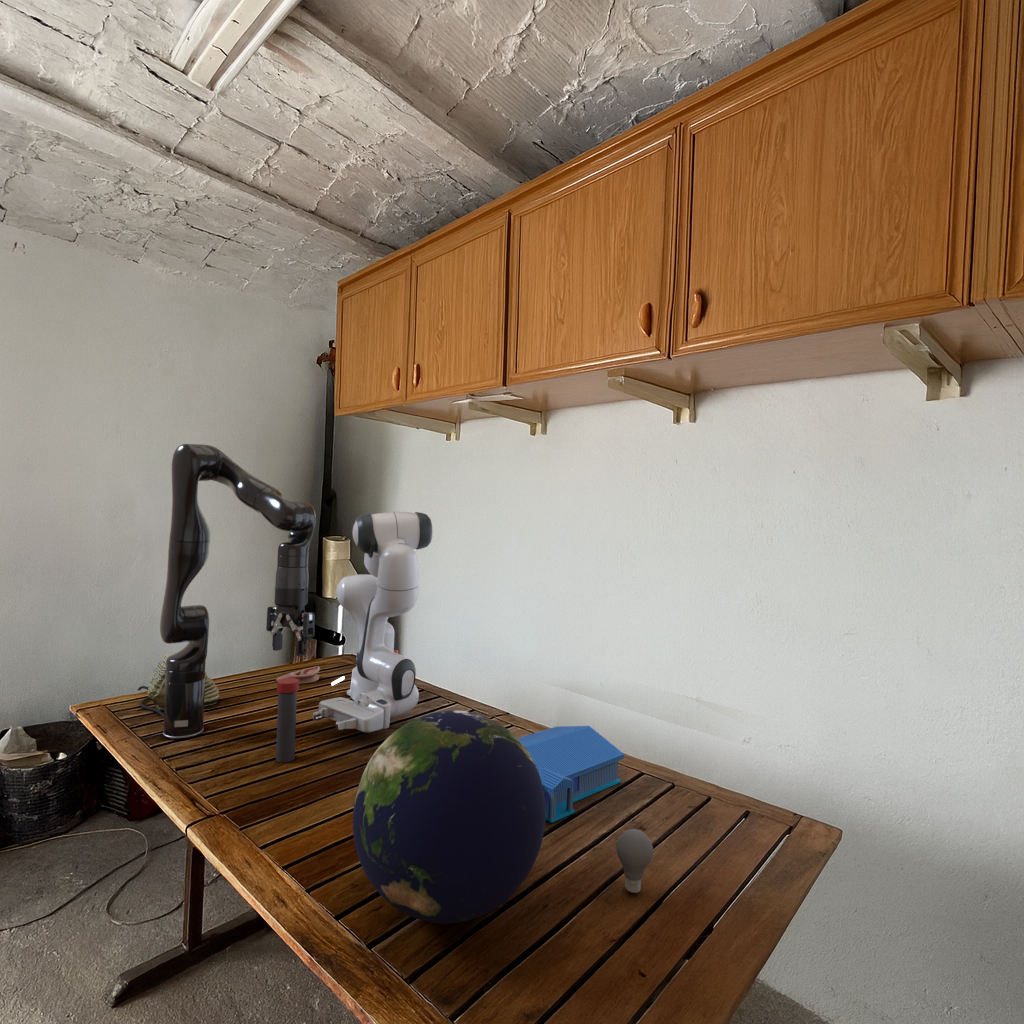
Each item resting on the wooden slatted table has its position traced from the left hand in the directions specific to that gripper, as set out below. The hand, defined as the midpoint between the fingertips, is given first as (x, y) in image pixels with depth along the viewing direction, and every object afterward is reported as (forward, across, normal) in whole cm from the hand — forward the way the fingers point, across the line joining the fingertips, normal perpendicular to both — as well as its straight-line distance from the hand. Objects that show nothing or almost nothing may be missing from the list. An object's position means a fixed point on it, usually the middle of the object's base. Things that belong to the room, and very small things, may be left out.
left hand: (289, 652), depth 151 cm
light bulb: (+26, +88, -2) cm, 91 cm away
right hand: (+19, +1, +11) cm, 22 cm away
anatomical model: (+26, -48, +46) cm, 71 cm away
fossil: (+26, -53, +8) cm, 59 cm away
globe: (+26, +64, -23) cm, 73 cm away
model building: (+26, +57, +20) cm, 66 cm away
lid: (+7, 0, 0) cm, 7 cm away
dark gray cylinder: (+26, 0, 0) cm, 26 cm away
